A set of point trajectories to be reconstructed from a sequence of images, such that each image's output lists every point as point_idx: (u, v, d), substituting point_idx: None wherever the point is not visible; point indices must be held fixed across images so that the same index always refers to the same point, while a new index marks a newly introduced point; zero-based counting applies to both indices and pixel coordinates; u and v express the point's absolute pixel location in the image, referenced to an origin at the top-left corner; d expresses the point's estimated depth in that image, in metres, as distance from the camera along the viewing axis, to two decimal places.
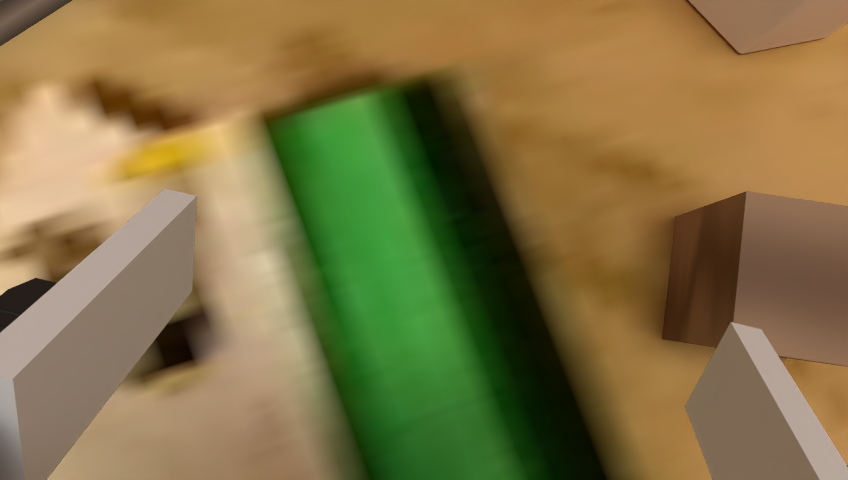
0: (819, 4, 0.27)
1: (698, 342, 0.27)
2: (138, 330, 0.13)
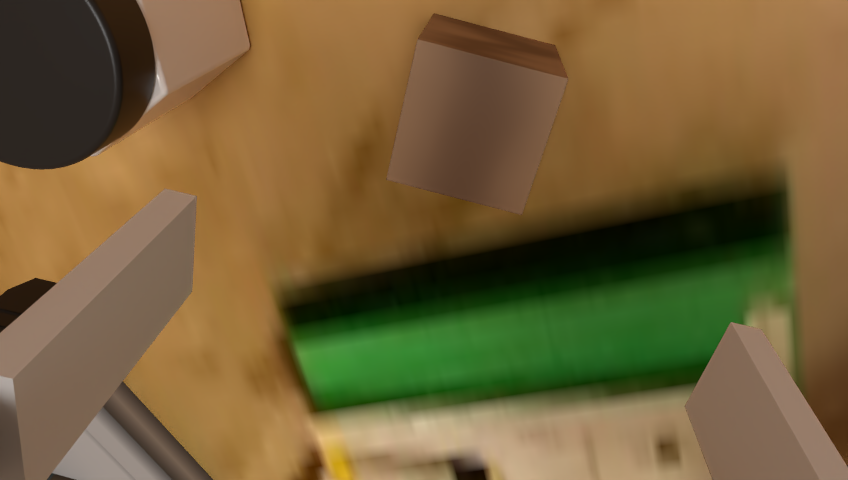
0: (205, 47, 0.27)
1: None
2: (138, 330, 0.13)
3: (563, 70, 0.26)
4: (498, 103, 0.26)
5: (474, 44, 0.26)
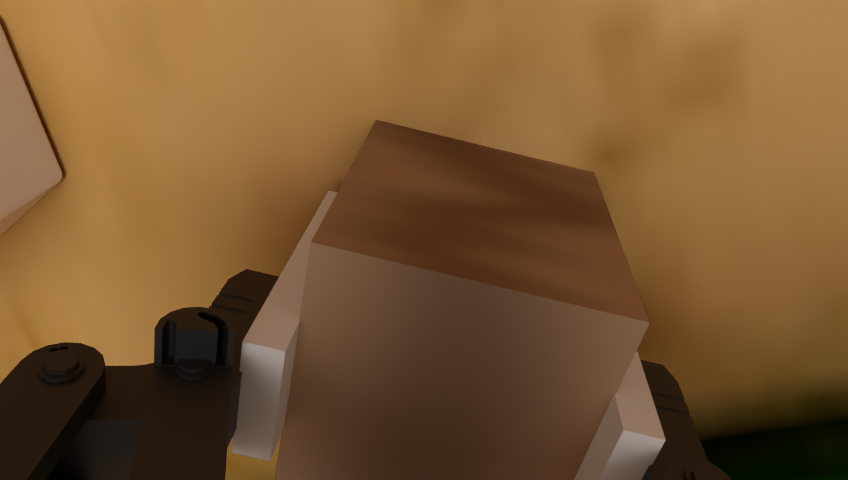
0: None
1: None
2: None
3: (630, 280, 0.12)
4: (496, 363, 0.12)
5: (442, 223, 0.13)
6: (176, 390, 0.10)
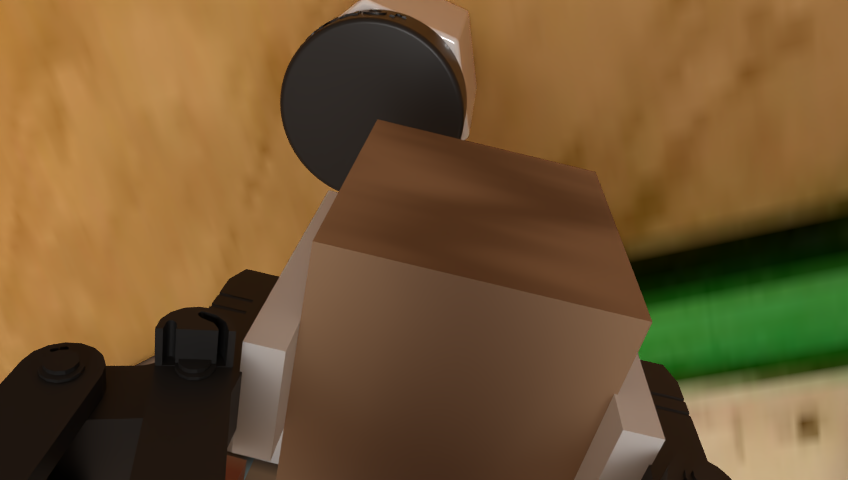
0: (471, 95, 0.34)
1: None
2: None
3: (632, 279, 0.12)
4: (498, 363, 0.12)
5: (444, 222, 0.13)
6: (176, 390, 0.10)
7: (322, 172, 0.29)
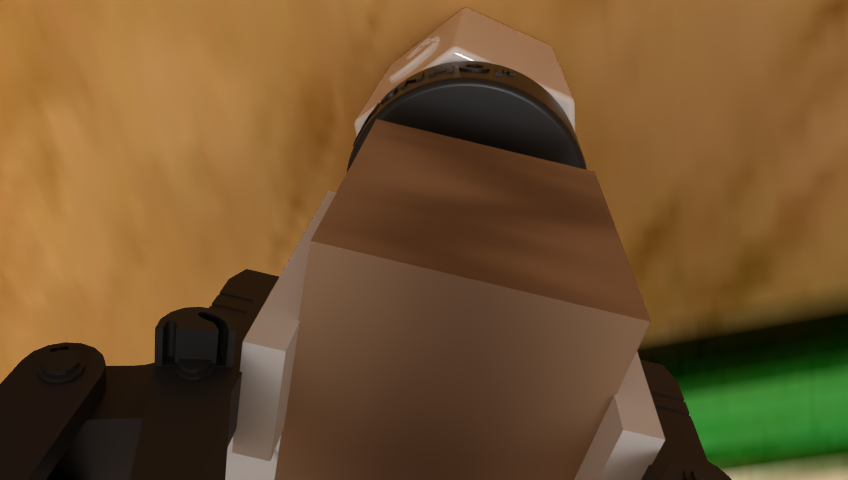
0: None
1: None
2: None
3: (631, 279, 0.12)
4: (496, 363, 0.12)
5: (443, 222, 0.13)
6: (176, 390, 0.10)
7: None
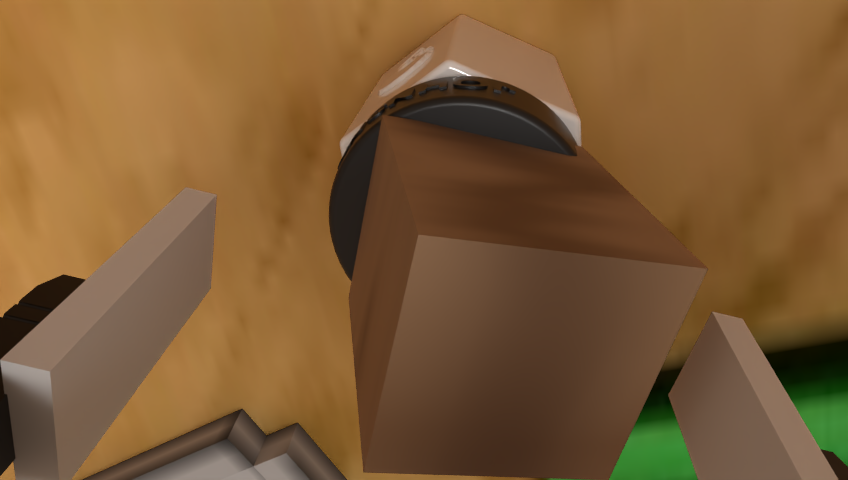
0: None
1: None
2: (162, 326, 0.14)
3: (671, 236, 0.14)
4: (578, 324, 0.13)
5: (505, 204, 0.14)
6: None
7: None
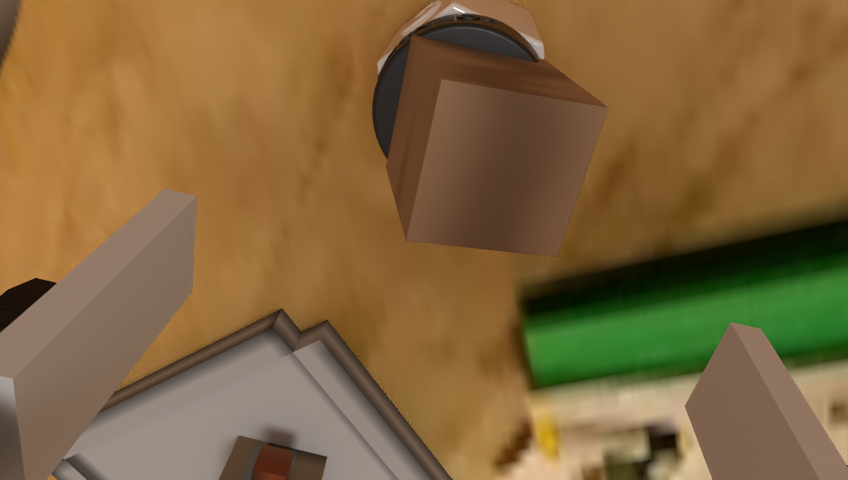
0: None
1: None
2: (138, 330, 0.13)
3: (591, 96, 0.23)
4: (533, 142, 0.22)
5: (491, 75, 0.23)
6: None
7: None
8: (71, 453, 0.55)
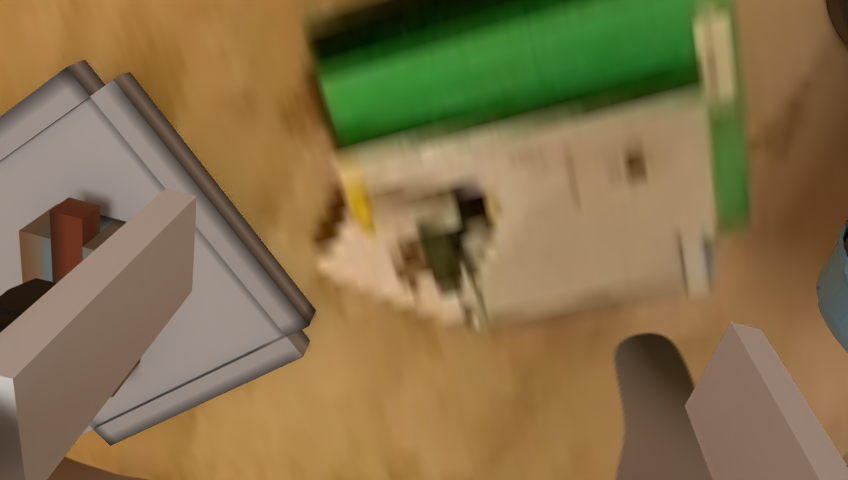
0: None
1: None
2: (138, 330, 0.13)
3: None
4: None
5: None
6: None
7: None
8: None
